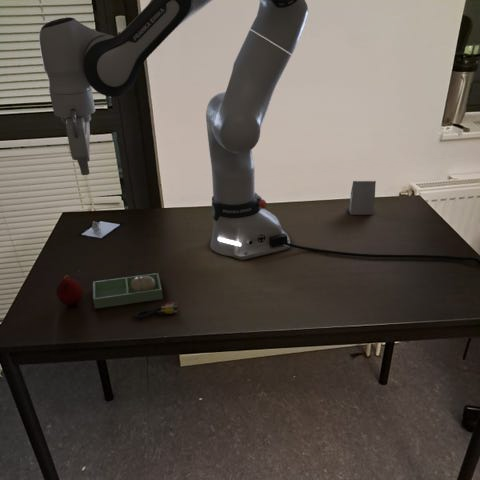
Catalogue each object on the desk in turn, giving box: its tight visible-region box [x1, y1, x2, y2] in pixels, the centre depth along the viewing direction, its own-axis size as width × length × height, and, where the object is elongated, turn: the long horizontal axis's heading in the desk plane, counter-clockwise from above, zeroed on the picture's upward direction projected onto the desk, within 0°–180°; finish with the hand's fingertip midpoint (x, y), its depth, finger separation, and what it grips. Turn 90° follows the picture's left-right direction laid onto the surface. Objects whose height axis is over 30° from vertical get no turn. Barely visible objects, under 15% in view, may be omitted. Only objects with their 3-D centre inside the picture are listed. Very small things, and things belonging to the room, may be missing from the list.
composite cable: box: [134, 301, 179, 320], centre depth 117 cm, size 10×5×2 cm, turn 96°
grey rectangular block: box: [348, 180, 377, 216], centre depth 158 cm, size 4×7×10 cm, turn 87°
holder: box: [92, 272, 164, 309], centre depth 123 cm, size 16×8×3 cm, turn 103°
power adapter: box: [90, 221, 102, 233], centre depth 153 cm, size 3×3×3 cm
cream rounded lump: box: [131, 275, 156, 292], centre depth 123 cm, size 6×4×4 cm
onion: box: [56, 274, 84, 307], centre depth 119 cm, size 6×6×8 cm
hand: (85, 167), depth 119 cm, fingers open, 8 cm apart
